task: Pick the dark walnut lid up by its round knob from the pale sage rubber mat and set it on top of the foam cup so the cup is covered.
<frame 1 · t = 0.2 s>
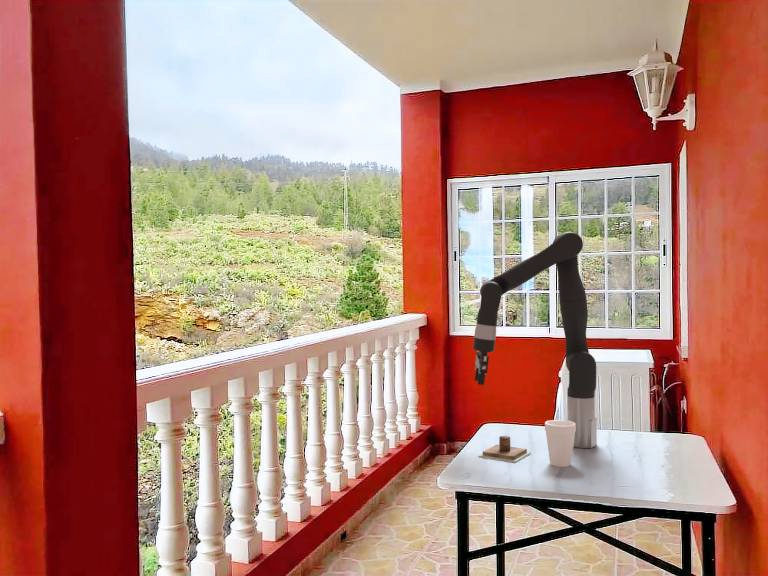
hand: (479, 382, 235), 22 cm above the table, tool pointing down, fingers open, 8 cm apart
mat: (504, 455, 221), on the table
lid: (504, 445, 221), on the mat
foam cup: (560, 464, 210), on the table
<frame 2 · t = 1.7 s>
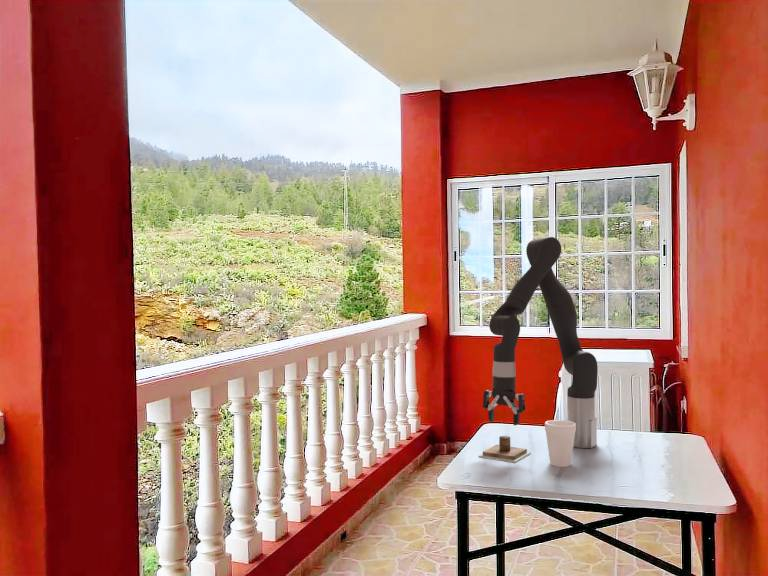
hand: (503, 423, 221), 11 cm above the table, tool pointing down, fingers open, 8 cm apart
nothing on the table moved.
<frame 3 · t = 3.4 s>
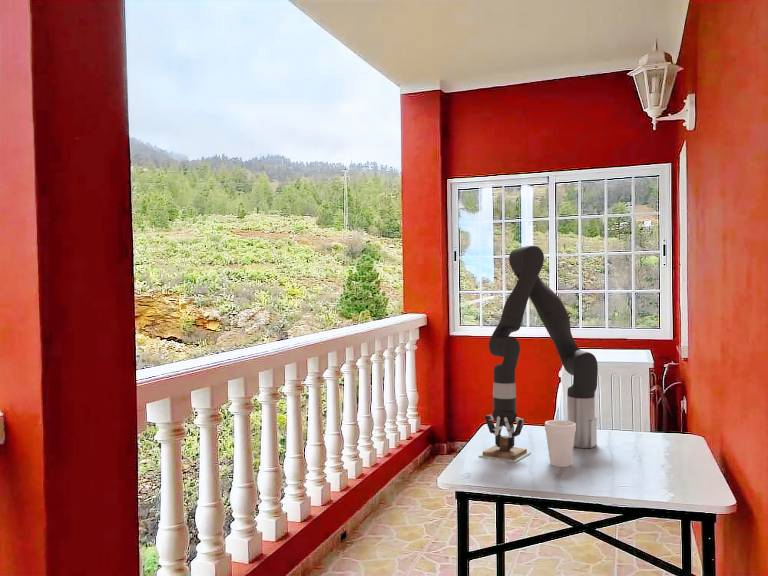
hand: (504, 447, 221), 3 cm above the table, tool pointing down, fingers closed on lid, 3 cm apart
lid: (504, 445, 221), on the mat, touching gripper
everything else where it was.
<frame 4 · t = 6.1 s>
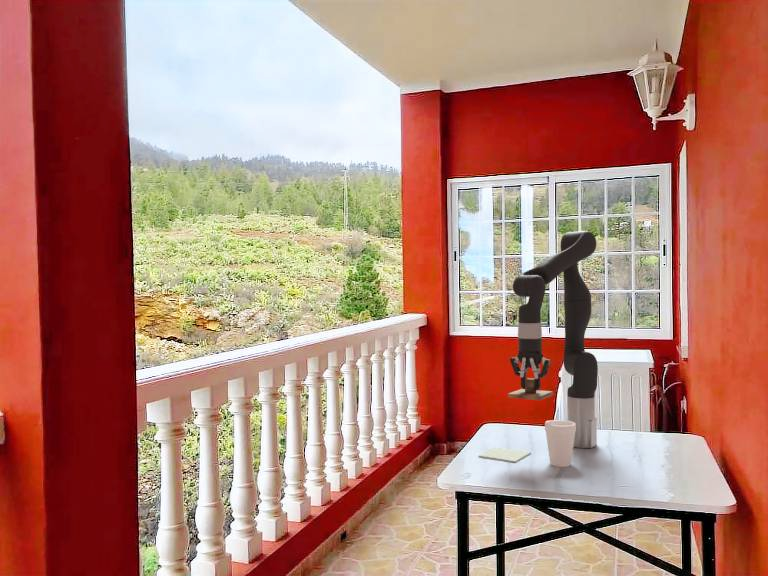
hand: (530, 389, 215), 23 cm above the table, tool pointing down, fingers closed on lid, 3 cm apart
lid: (530, 387, 215), point 23 cm above the table, touching gripper
everything else where it was.
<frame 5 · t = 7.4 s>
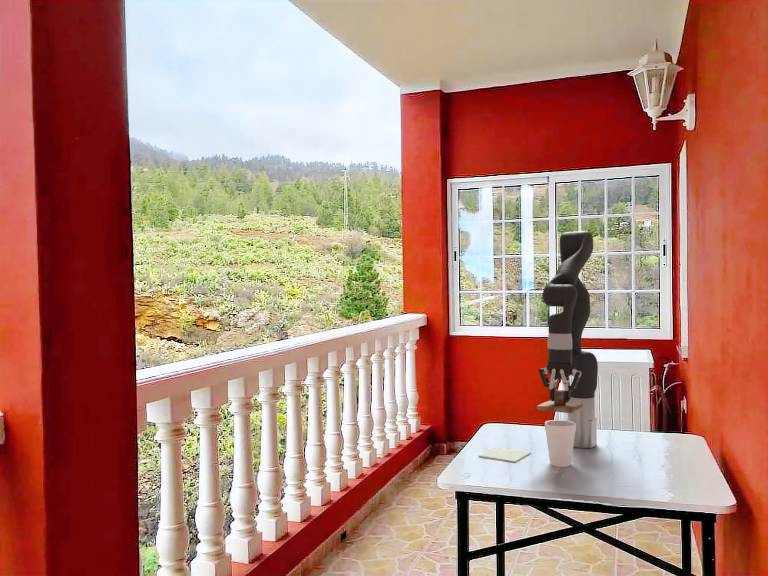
hand: (559, 401, 210), 20 cm above the table, tool pointing down, fingers closed on lid, 3 cm apart
lid: (560, 399, 210), point 20 cm above the table, touching gripper
everything else where it was.
when the fingers open (17 cm above the table, at t = 8.7 s): lid drops 1 cm, resting on foam cup.
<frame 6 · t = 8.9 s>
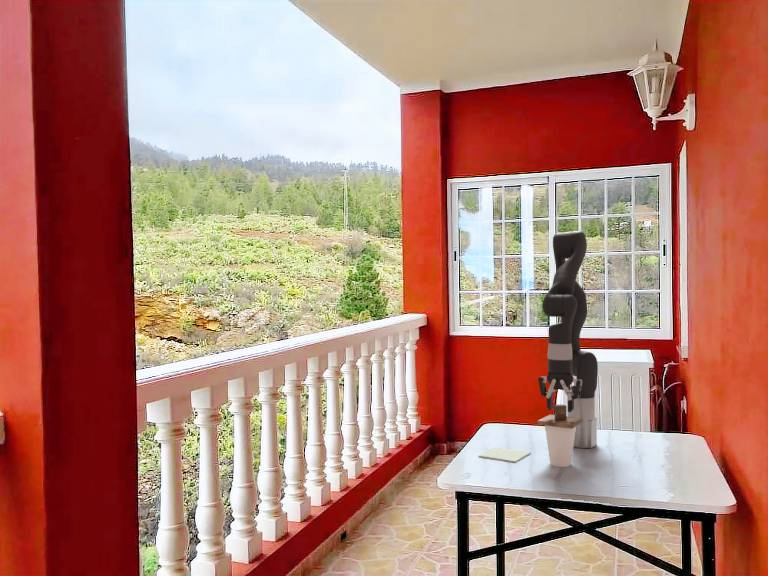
hand: (560, 410, 210), 17 cm above the table, tool pointing down, fingers open, 5 cm apart
lid: (560, 414, 210), point 16 cm above the table, touching foam cup
foam cup: (560, 464, 210), on the table, touching lid
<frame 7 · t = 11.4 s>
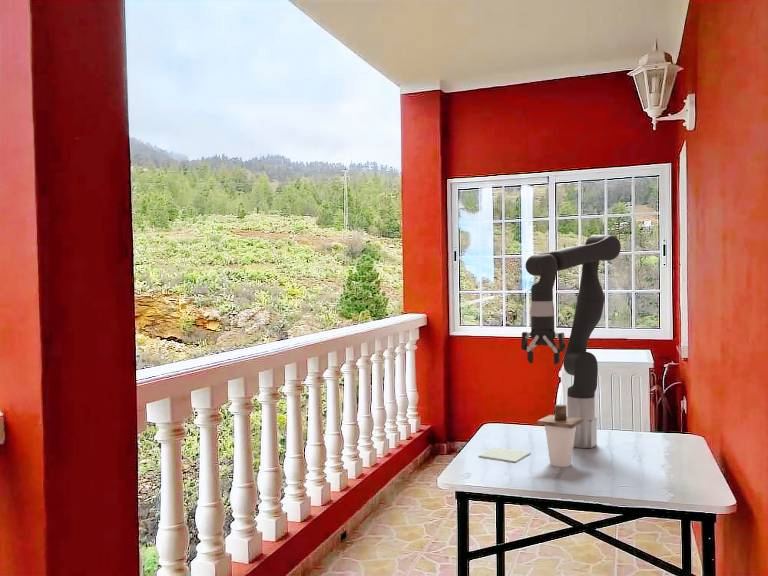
hand: (543, 363, 219), 31 cm above the table, tool pointing down, fingers open, 8 cm apart
nothing on the table moved.
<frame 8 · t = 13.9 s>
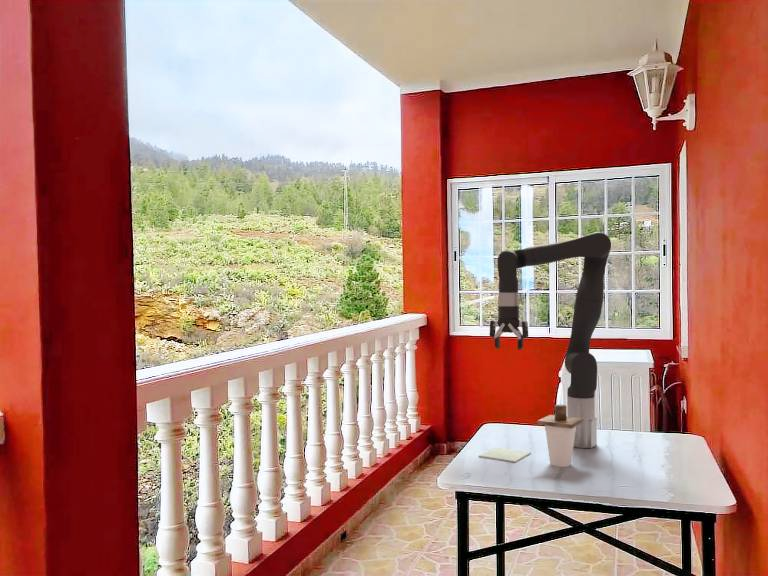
hand: (508, 349, 243), 33 cm above the table, tool pointing down, fingers open, 8 cm apart
nothing on the table moved.
at the end: lid 0.1 cm from the foam cup (horizontally); lid point 15.8 cm above the table; foam cup tilted 0° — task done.
